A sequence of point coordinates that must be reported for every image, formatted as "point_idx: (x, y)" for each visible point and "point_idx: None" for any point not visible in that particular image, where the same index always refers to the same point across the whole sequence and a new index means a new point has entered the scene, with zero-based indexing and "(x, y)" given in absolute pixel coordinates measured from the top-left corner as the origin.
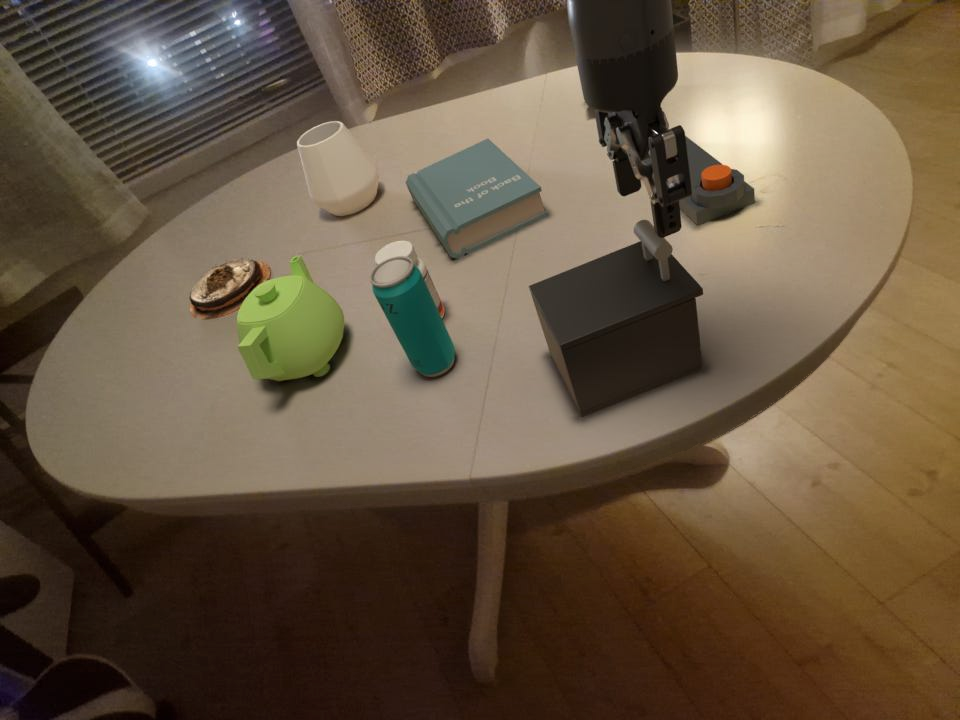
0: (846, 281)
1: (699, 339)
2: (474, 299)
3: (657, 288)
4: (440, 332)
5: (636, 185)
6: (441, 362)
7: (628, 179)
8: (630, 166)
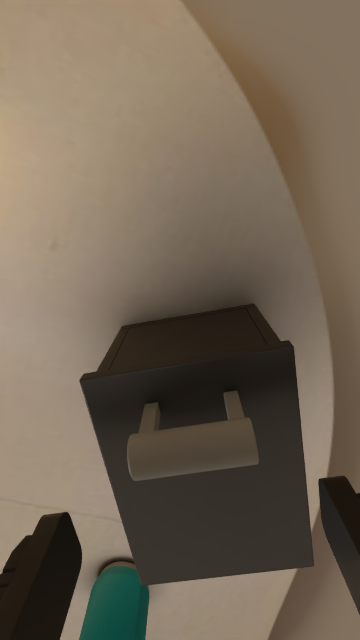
0: (150, 28)
1: (266, 321)
2: (10, 534)
3: (251, 415)
4: (126, 625)
5: (64, 535)
6: (144, 591)
7: (59, 584)
8: (36, 624)
